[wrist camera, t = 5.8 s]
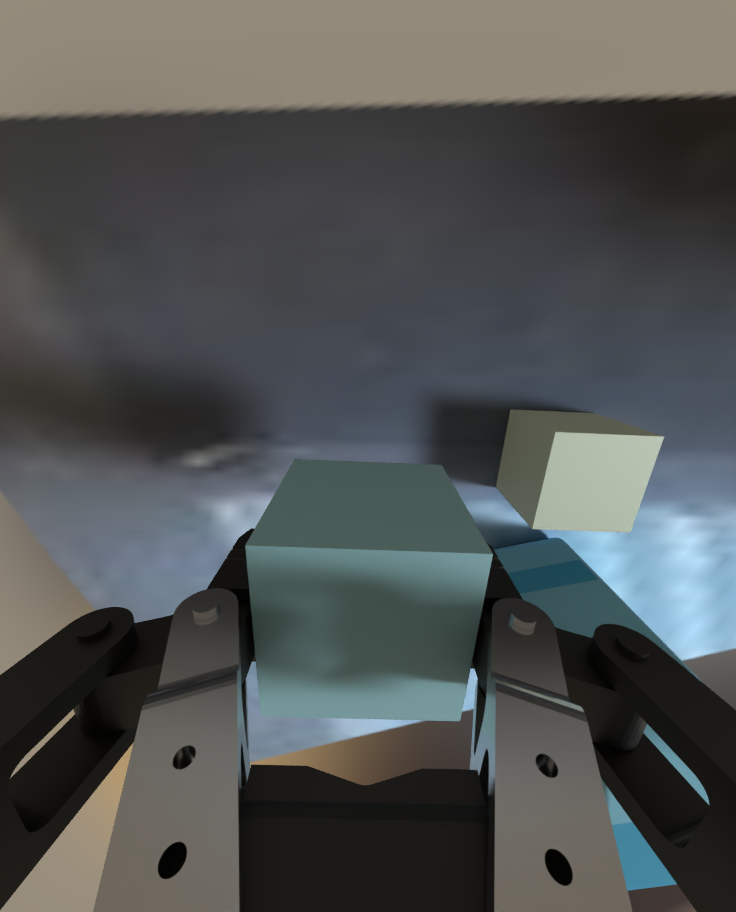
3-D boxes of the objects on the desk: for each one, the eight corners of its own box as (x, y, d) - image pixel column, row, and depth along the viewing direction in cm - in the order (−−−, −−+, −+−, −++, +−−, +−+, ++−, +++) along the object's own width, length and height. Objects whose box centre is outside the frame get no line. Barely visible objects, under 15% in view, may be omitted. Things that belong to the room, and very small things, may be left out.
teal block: (294, 459, 12) (245, 545, 7) (441, 465, 12) (492, 554, 7) (298, 579, 13) (260, 716, 8) (426, 584, 13) (459, 721, 9)
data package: (485, 540, 23) (605, 740, 12) (552, 526, 23) (743, 719, 11) (500, 667, 27) (600, 909, 16) (558, 657, 27) (703, 896, 15)
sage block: (510, 409, 20) (555, 432, 15) (593, 412, 20) (664, 436, 15) (495, 486, 22) (532, 529, 17) (572, 489, 22) (630, 532, 17)
